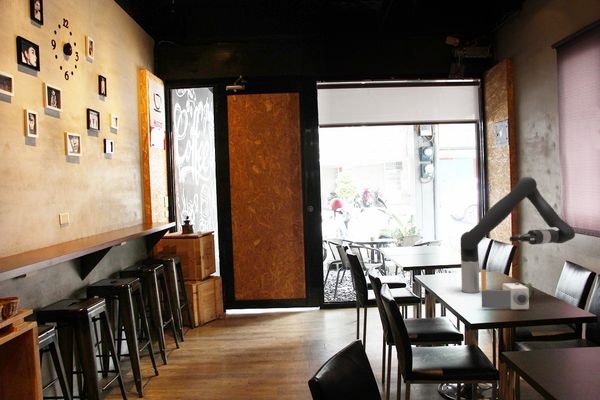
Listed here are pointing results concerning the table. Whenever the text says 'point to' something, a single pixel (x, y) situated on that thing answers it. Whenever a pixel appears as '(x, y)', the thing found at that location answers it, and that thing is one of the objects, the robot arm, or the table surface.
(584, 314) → the table surface
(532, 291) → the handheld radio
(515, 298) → the camera body
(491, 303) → the side door
